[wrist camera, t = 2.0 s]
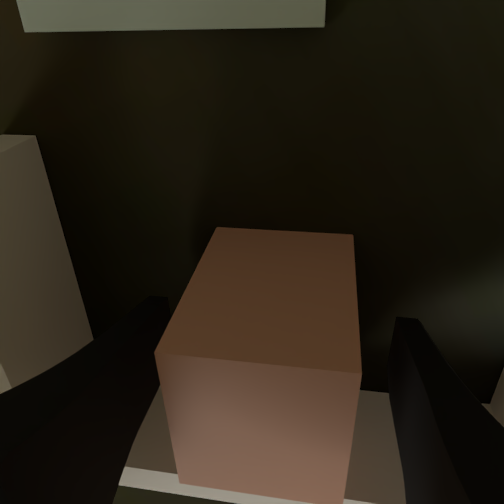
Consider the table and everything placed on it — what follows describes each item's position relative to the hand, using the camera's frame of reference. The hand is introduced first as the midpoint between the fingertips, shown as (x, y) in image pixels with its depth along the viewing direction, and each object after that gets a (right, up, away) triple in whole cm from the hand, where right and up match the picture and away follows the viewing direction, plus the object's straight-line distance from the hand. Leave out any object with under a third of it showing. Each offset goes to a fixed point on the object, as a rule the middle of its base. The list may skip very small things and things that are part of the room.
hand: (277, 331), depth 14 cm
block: (0, +1, +2) cm, 2 cm away
